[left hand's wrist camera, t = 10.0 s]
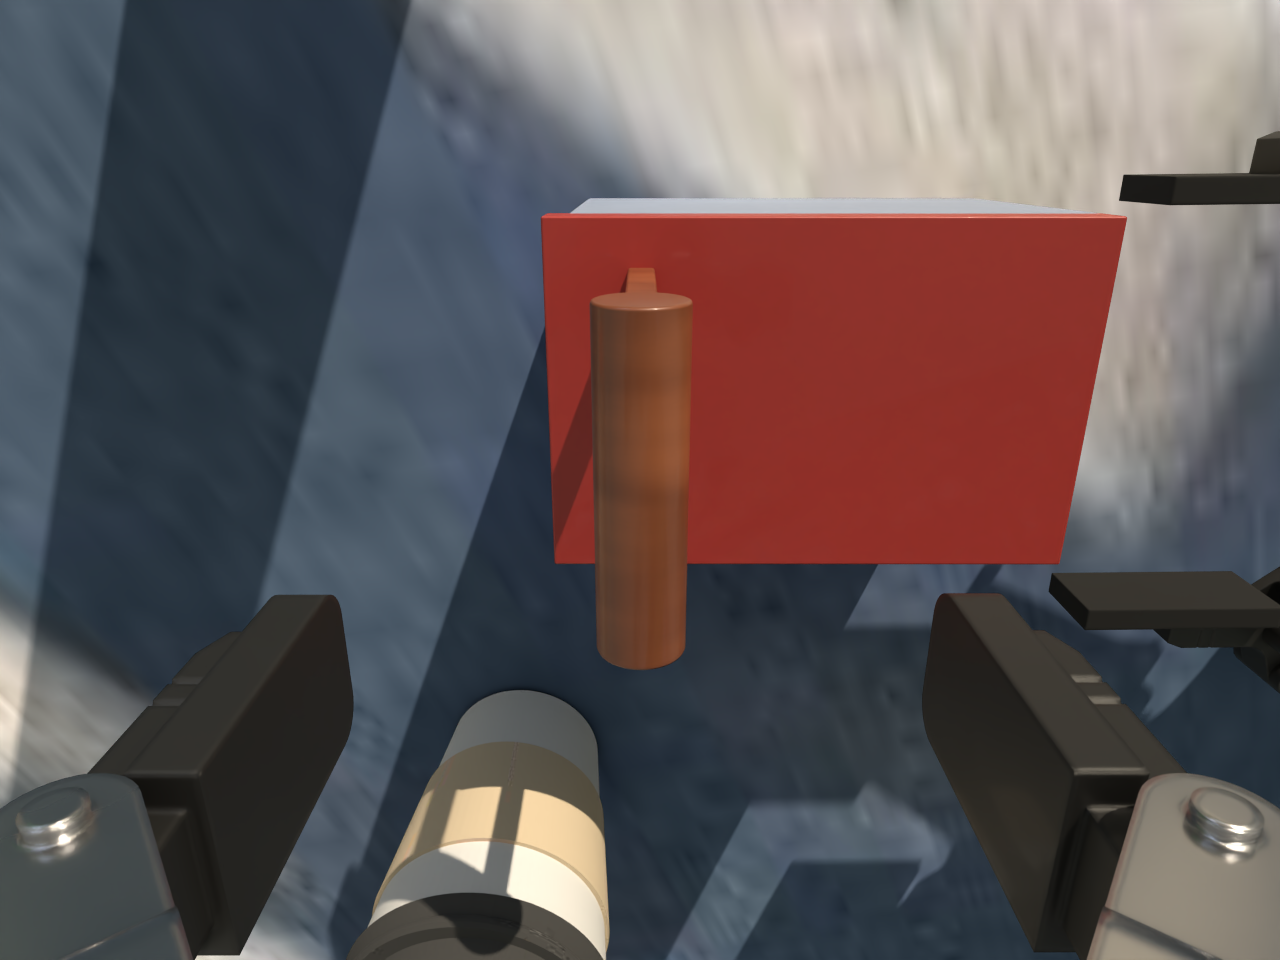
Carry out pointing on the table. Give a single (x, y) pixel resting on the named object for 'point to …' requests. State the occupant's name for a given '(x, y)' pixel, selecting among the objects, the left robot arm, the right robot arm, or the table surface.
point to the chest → (813, 206)
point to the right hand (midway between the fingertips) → (1101, 413)
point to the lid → (812, 394)
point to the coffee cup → (501, 845)
